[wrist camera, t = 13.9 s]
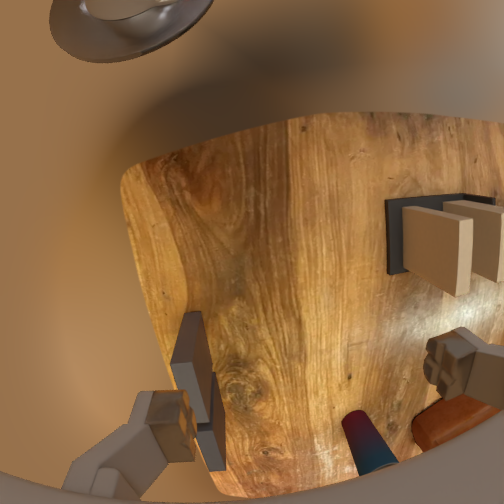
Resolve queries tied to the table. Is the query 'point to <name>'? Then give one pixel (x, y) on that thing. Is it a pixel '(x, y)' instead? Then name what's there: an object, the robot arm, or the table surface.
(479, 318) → the table surface
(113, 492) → the robot arm
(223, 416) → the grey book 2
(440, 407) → the bread
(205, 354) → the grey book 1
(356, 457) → the cup
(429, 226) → the brown flat block
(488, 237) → the book rack
